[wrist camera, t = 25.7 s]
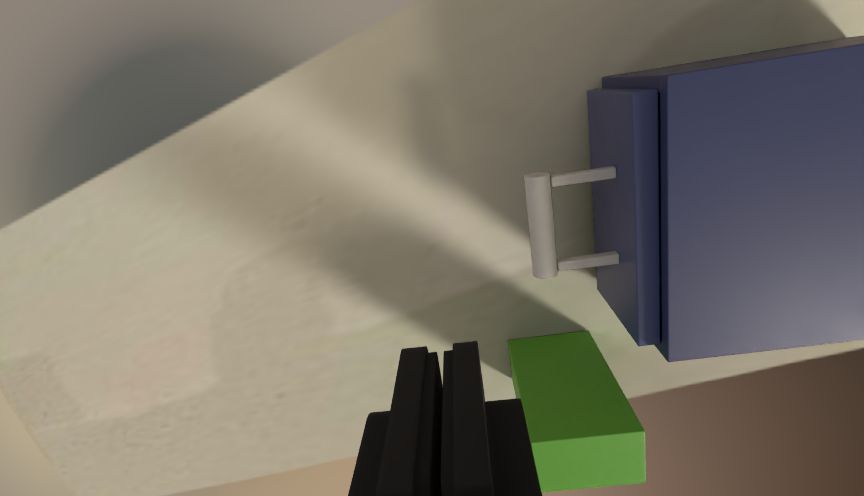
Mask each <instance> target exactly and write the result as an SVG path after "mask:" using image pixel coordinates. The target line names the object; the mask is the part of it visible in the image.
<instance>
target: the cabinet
mask: <svg viewBox="0 0 864 496" xmlns="http://www.w3.org/2000/svg"><path fill="white" fill-rule="evenodd" d="M602 87H603V88H634V89H658V93H660V115H661V264H662V304H661V303H660V344H654V345H655V346H656V347H657V349H658V350H659V351H660V352H661V354H662V355H663V356H664V358H665V359H666V360H667V361H668V362H673V361H682V360H691V359H700V358H708V357H717V356H726V355H735V354H743V353H752V352H761V351H770V350H778V349H787V348H796V347H805V346H814V345H822V344H831V343H840V342H849V341H857V340H864V36H858V37H848V38H842V39H836V40H830V41H823V42H817V43H811V44H805V45H799V46H792V47H786V48H780V49H774V50H768V51H761V52H755V53H749V54H743V55H737V56H731V57H724V58H718V59H712V60H706V61H700V62H693V63H687V64H681V65H675V66H669V67H662V68H656V69H650V70H644V71H638V72H631V73H625V74H619V75H613V76H607V77H603V78H602Z"/></svg>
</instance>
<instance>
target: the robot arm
mask: <svg viewBox="0 0 864 496" xmlns="http://www.w3.org/2000/svg"><path fill="white" fill-rule="evenodd" d="M348 496H542V493H541V488H540V483H539V479H538V474H537V470H536V465H535V460H534V456H533V451H532V447H531V442H530V437H529V433H528V428H527V424H526V419H525V414H524V410H523V405H522V401H521V398H518V399H508V400H498V401H487V402H485V397H484V389H483V381H482V373H481V366H480V358H479V350H478V343H477V341H472V342H463V343H454V344H453V350H450V351H444V364H443V386H442V380H441V373H440V367H439V361H438V355H437V352H431V353H428V349H427V347H426V346H425V347H416V348H407V349H402V350H401V354H400V360H399V365H398V371H397V377H396V382H395V388H394V393H393V399H392V404H391V410H390V411H383V412H373V413H370V414H369V415H368V418H367V421H366V425H365V429H364V433H363V437H362V441H361V445H360V449H359V453H358V457H357V461H356V466H355V470H354V474H353V478H352V482H351V486H350V490H349V494H348Z"/></svg>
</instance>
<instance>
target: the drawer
mask: <svg viewBox="0 0 864 496" xmlns="http://www.w3.org/2000/svg"><path fill="white" fill-rule="evenodd" d="M587 100H588V119H589V138H590V157H591V169H588V170H581V171H574V172H567V173H561V174H554V175H550V173H549V172H533V173H529V174H526V175H525V176H524V183H525V194H526V204H527V214H528V225H529V235H530V245H531V256H532V266H533V275H534V277H536V278H539V279H549V278H553V277H555V276H557V274H558V271H566V270H574V269H581V268H589V267H596V272H597V289H598V291H599V292H600V293H601V295H602V296H603V298H604V299H605V300H606V302H607V303H608V305H609V306H610V307H611V309H612V310H613V311H614V313H615V314H616V316H617V317H618V318H619V320H620V321H621V323H622V324H623V325H624V327H625V328H626V329H627V331H628V332H629V334H630V335H631V336H632V338H633V339H634V341H635V342H636V343H637V345H638V346H645V345H653V344H660V303H661V304H662V264H661V115H660V93H658V89H634V88H600V89H594V90H588V91H587ZM586 182H592V195H593V214H594V234H595V253H596V254H590V255H582V256H575V257H567V258H560V259H557V258H556V245H555V233H554V220H553V207H552V195H551V187H558V186H565V185H572V184H579V183H586Z"/></svg>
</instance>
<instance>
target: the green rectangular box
mask: <svg viewBox="0 0 864 496" xmlns="http://www.w3.org/2000/svg"><path fill="white" fill-rule="evenodd" d="M508 347H509V356H510V364H511V372H512V380H513V385H514V389H515V394H516V399H518V398H521V401H522V405H523V410H524V414H525V419H526V424H527V428H528V433H529V437H530V442H531V447H532V451H533V456H534V460H535V465H536V470H537V474H538V479H539V483H540V488H541V492H551V491H562V490H572V489H583V488H594V487H604V486H615V485H625V484H635V483H645V482H646V466H645V431H644V429H643V427H642V425H641V423H640V422H639V420H638V418H637V416H636V415H635V413H634V411H633V409H632V407H631V406H630V404H629V402H628V400H627V398H626V397H625V395H624V393H623V391H622V390H621V388H620V386H619V384H618V382H617V381H616V379H615V377H614V375H613V374H612V372H611V370H610V368H609V366H608V365H607V363H606V361H605V359H604V358H603V356H602V354H601V352H600V350H599V349H598V347H597V345H596V343H595V341H594V340H593V338H592V336H591V334H590V333H589V331H580V332H572V333H564V334H555V335H547V336H539V337H530V338H522V339H514V340H508Z"/></svg>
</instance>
